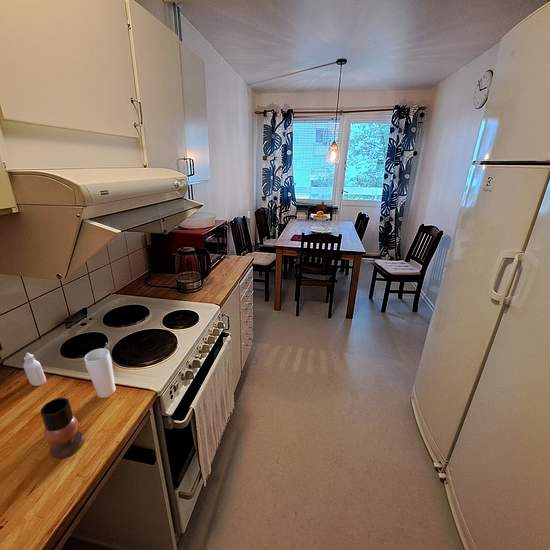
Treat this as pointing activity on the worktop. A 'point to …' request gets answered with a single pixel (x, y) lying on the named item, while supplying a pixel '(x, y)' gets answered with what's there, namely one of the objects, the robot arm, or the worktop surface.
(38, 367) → the eye dropper bottle
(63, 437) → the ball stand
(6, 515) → the worktop surface
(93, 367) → the drinking glass
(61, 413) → the napkin ring
